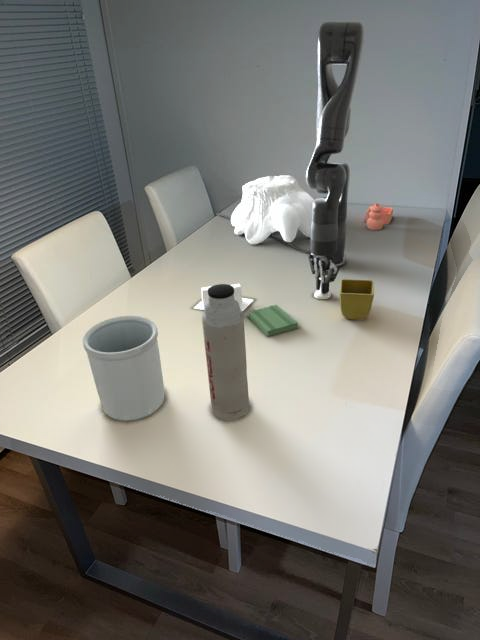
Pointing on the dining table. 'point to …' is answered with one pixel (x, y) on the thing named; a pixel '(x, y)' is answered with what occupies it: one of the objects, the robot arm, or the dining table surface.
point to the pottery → (378, 216)
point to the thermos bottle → (225, 353)
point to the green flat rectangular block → (272, 320)
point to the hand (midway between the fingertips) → (322, 290)
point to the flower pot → (356, 298)
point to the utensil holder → (126, 366)
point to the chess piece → (321, 295)
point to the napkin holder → (237, 296)
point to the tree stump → (273, 209)
